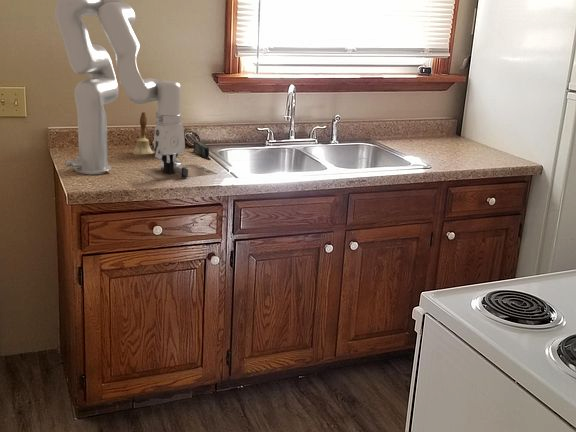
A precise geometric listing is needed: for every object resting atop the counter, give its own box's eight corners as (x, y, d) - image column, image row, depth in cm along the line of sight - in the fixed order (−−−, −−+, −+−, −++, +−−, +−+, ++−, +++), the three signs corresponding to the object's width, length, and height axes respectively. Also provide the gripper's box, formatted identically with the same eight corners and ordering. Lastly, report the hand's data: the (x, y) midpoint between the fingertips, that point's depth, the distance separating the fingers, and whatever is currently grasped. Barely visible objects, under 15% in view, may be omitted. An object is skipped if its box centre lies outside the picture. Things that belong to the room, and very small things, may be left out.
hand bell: (140, 149, 276) (140, 109, 271) (157, 153, 273) (158, 112, 268) (127, 153, 269) (127, 112, 264) (145, 156, 266) (145, 115, 261)
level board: (158, 184, 232) (158, 180, 231) (138, 173, 243) (138, 169, 242) (217, 177, 245) (218, 173, 245) (196, 167, 256) (196, 163, 256)
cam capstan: (157, 168, 244) (157, 159, 243) (174, 166, 249) (175, 157, 248) (177, 178, 234) (177, 169, 233) (195, 176, 238) (195, 167, 237)
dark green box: (192, 140, 278) (205, 147, 265) (199, 139, 280) (212, 147, 267) (192, 152, 280) (205, 160, 267) (199, 152, 281) (212, 160, 268)
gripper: (158, 123, 222) (158, 179, 227) (193, 118, 233) (192, 172, 238) (143, 119, 226) (143, 174, 232) (178, 115, 237) (177, 167, 243)
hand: (168, 173), depth 235 cm, fingers closed
